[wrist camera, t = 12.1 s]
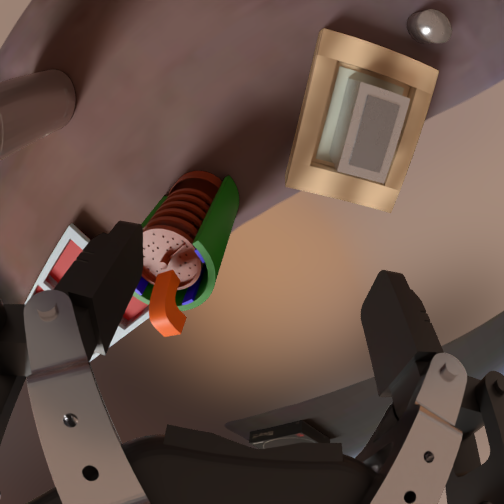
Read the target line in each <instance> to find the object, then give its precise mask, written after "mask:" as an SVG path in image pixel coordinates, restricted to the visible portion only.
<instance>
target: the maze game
mask: <svg viewBox="0 0 504 504" xmlns="http://www.w3.org/2000/svg"><path fill="white" fill-rule="evenodd" d="M89 241H90V239H89V238H88V237H87V236H86V235H85V234H84V233H83V232H82V231H80V230H79V229H78V228H77V227H76V226H75V225H74V224H72V223H71V224H70V225H69V227H68V228H67V230H66V231H65V233H64V235H63V236H62V238H61V239H60V241H59V243H58V244H57V246H56V248H55V249H54V251H53V253H52V254H51V256H50V258H49V260H48V261H47V263H46V265H45V267H44V268H43V270H42V272H41V274H40V276H39V277H38V279H37V281H36V283H35V285H34V287H33V289H32V291H31V293H30V294H29V296H28V298H27V300H26V302H25V304H26V303H27V302H28V300H29V299H30V298H31V297H32V296H34V295H35V294H37V293H39V292H41V291H45V290H53V289H54V288H55V287H56V285H57V284H58V282H59V281H60V280H61V278H62V277H63V275H64V274H65V273H66V271H67V270H68V269H69V267H70V266H71V265H72V263H73V262H74V261H75V260H76V258H77V257H78V255H79V254H80V253H81V252H82V251H83V249H84V248H85V246H86V245H87V244H88V243H89ZM148 318H149V305H147V304H145V303H143V302H142V301H140V300H139V299H137V298H136V297H134V296H132V298H131V300H130V302H129V304H128V306H127V308H126V311H125V313H124V315H123V317H122V319H121V321H120V324H119V326H118V328H117V330H116V332H115V335H114V337H113V339H112V341H111V344H110V346H111V345H113V344H114V343H116V342H117V341H118V340H119V339H121V338H122V337H124V336H125V335H126V334H128V333H129V332H130V331H132V330H133V329H134V328H136V327H137V326H138V325H140V324H141V323H143V322H144V321H145V320H146V319H148ZM110 346H109V347H110ZM98 355H99V353H95V352H94V353H93V355H92V357H91V360H93V359H94V358H95V357H97V356H98ZM91 360H90V361H91Z"/></svg>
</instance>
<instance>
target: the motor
mask: <svg viewBox="0 0 504 504" xmlns="http://www.w3.org/2000/svg"><path fill="white" fill-rule="evenodd" d="M238 207H239V193H238V190H237V187H236V185H235V183H234V181H233V179H232V178H231V177H230V176H229V175H228V176H227V177H225V178H224V180H223V182H222V181H221V180H220V179H219V178H218V177H217V176H215V175H213V174H211V173H209V172H205V171H192V172H189V173H186V174H184V175H183V176H182V177H180V178H179V179H178V181H177V182H176V183H175V184H174V185H173V187H172V188H171V189H170V191H169V194H168V196H164V197H163V198H162V199H161V200H160V201H159V203H158V204H157V205H156V206H155V208H154V209H153V210H152V211H151V213H150V214H149V215H148V216H147V218H146V219H145V220H144V222H143V223H142V224H141V225H142V227H143V271H142V276H141V279H140V281H139V284H138V286H137V288H136V290H135V292H134V294H133V296H134V297H136V298H137V299H139V300H140V301H142V302H143V303H145V304H147V305H149V317H150V320H151V323H152V324H153V326H154V327H155V328H156V329H157V330H158V331H159V332H160V333H161V334H162V335H163V336H164V337H167V336H173V335H178V334H181V332H182V329H183V326H184V323H185V321H186V318H187V317H186V316H185V315H184V314H183V313H182V312H181V311H185V310H189V309H192V308H195V307H197V306H199V305H201V304H202V303H203V302H205V301H206V299H208V297H209V296H210V294H211V293H212V291H213V289H214V285H215V282H216V279H217V275H218V272H219V268H220V265H221V262H222V259H223V256H224V252H225V249H226V246H227V243H228V239H229V236H230V233H231V230H232V226H233V223H234V220H235V217H236V214H237V211H238Z"/></svg>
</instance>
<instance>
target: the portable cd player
mask: <svg viewBox="0 0 504 504" xmlns="http://www.w3.org/2000/svg"><path fill="white" fill-rule="evenodd" d="M301 442H306V443H330V439H329V438H328V437H326V436H325V435H323V434H322V433H320V432H319V431H317V430H316V429H314V428H313V427H311V426H310V425H308V424H307V423H305V422H304V421H302V420H300V421H296V422H292V423H288V424H284V425H280V426H276V427H271V428H267V429H262V430H257V431H252V432H250V439H249V443H250V444H252V445H254V446H256V447H258V448H259V449H266V448H272V447H279V446H285V445H290V444H296V443H301Z"/></svg>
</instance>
